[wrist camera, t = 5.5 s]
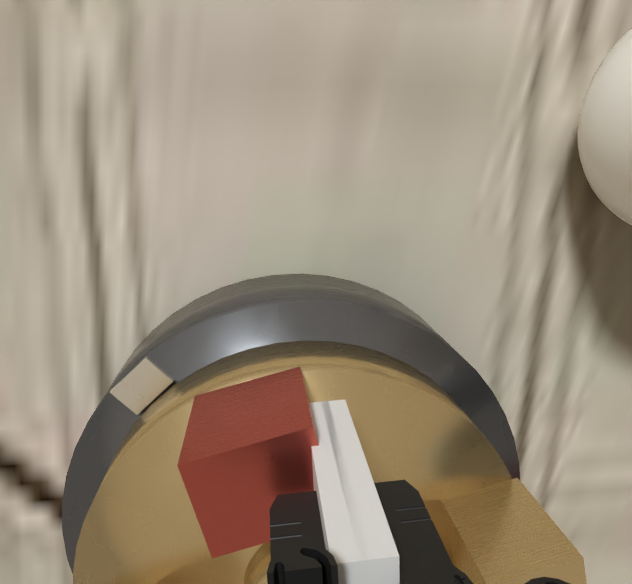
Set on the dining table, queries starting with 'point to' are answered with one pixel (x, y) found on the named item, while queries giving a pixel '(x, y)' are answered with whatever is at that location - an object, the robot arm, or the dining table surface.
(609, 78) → the lidded jar
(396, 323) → the base
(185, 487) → the ring nut
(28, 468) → the dining table surface
